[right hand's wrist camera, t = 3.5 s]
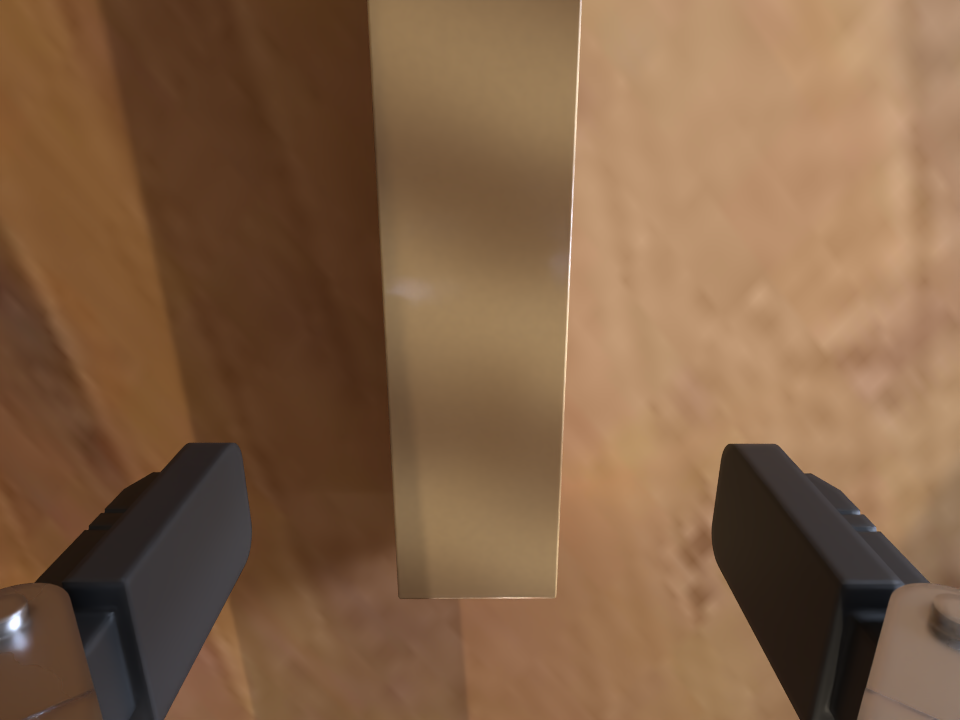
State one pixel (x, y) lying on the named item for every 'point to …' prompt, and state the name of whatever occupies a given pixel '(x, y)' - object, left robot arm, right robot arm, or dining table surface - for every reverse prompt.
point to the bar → (475, 283)
